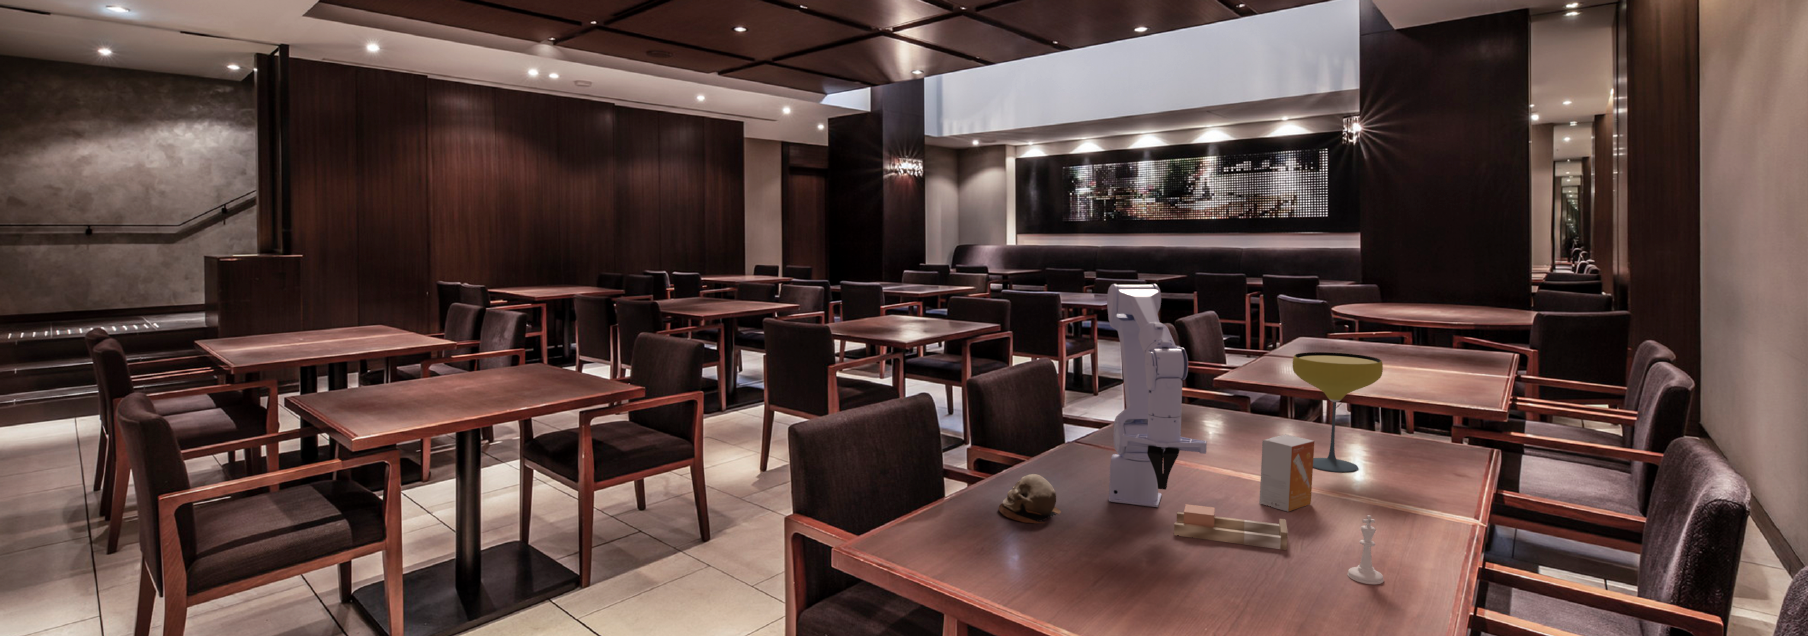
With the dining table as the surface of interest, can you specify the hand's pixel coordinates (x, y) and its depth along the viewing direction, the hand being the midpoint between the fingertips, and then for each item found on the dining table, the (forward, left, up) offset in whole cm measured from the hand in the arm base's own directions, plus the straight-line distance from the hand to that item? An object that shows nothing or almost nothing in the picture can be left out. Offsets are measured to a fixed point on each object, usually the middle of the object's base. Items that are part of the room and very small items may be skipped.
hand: (1162, 487), depth 148 cm
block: (+6, 0, -7) cm, 10 cm away
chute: (+11, 0, -7) cm, 13 cm away
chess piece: (+31, -11, -8) cm, 34 cm away
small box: (+21, +22, -8) cm, 32 cm away
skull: (-24, -1, -8) cm, 25 cm away
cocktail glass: (+32, +55, -8) cm, 64 cm away
